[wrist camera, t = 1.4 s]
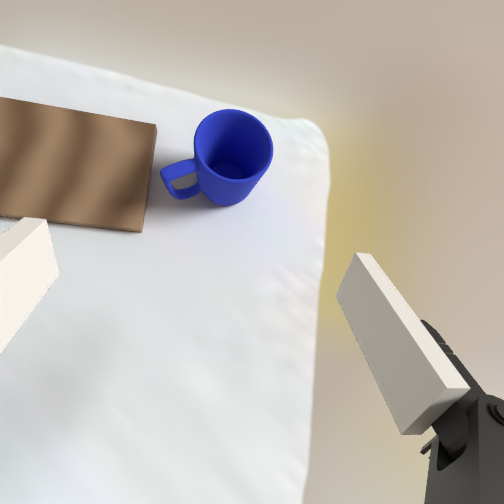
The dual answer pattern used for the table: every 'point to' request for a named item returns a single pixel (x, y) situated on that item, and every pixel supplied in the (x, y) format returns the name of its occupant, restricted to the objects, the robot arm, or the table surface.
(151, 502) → the table surface
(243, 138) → the mug
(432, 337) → the robot arm
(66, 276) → the table surface
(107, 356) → the table surface
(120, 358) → the table surface
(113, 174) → the walnut board
